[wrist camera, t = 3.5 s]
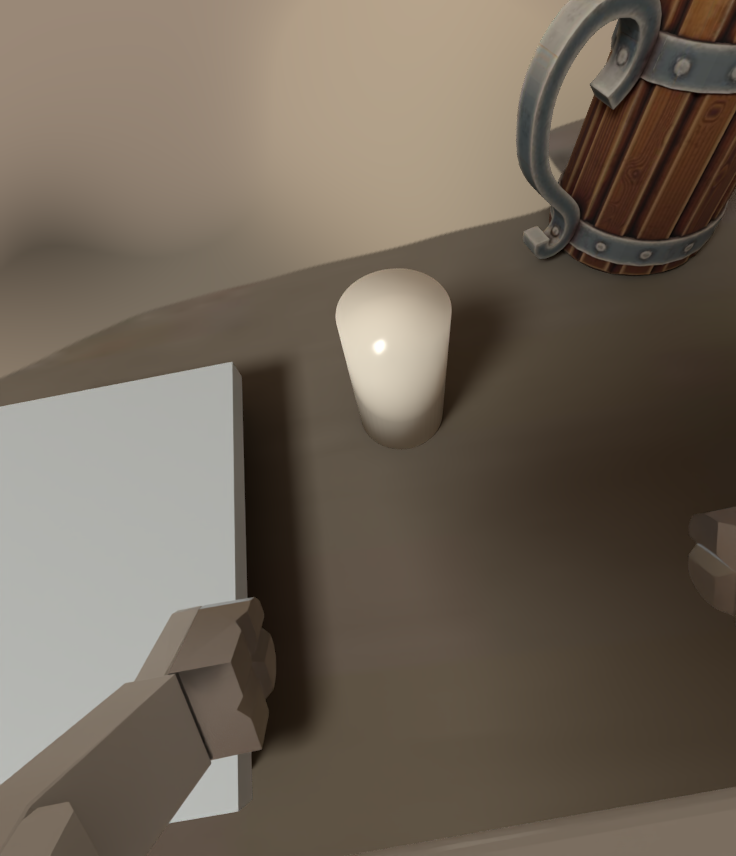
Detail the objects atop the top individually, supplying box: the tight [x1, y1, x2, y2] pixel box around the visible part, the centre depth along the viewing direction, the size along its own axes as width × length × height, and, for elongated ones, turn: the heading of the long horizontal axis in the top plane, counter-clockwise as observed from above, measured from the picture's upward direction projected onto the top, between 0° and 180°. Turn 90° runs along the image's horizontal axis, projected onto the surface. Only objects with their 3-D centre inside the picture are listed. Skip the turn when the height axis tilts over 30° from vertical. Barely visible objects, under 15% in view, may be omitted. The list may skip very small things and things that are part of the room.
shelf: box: [0, 362, 252, 823], centre depth 22 cm, size 20×14×4 cm
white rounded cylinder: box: [336, 268, 452, 449], centre depth 23 cm, size 5×5×9 cm
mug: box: [516, 0, 736, 276], centre depth 25 cm, size 16×11×15 cm
